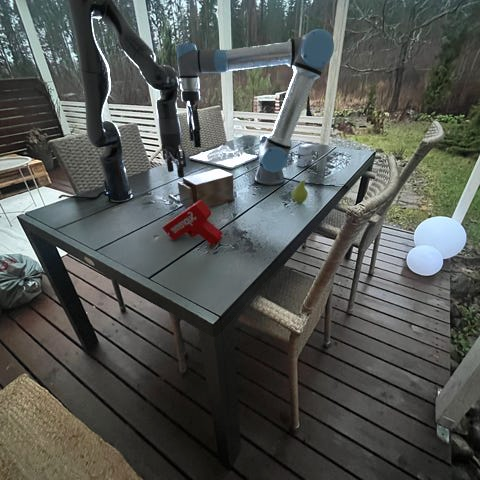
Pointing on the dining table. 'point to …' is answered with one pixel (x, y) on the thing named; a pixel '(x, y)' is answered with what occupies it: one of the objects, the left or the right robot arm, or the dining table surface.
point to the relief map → (224, 157)
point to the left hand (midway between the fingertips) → (176, 174)
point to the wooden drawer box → (212, 187)
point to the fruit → (300, 192)
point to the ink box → (304, 154)
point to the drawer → (185, 194)
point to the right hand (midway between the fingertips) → (195, 143)
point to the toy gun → (194, 224)
